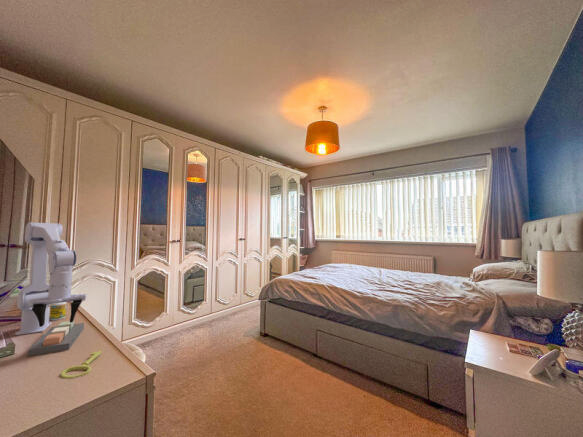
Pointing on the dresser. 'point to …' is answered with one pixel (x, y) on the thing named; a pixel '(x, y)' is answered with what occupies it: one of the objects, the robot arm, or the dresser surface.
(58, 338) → the terracotta key
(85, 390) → the dresser surface
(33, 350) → the grey flat frame
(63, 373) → the key
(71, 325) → the sage key
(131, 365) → the dresser surface
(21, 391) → the dresser surface
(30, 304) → the robot arm
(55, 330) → the cream key
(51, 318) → the supplement bottle
